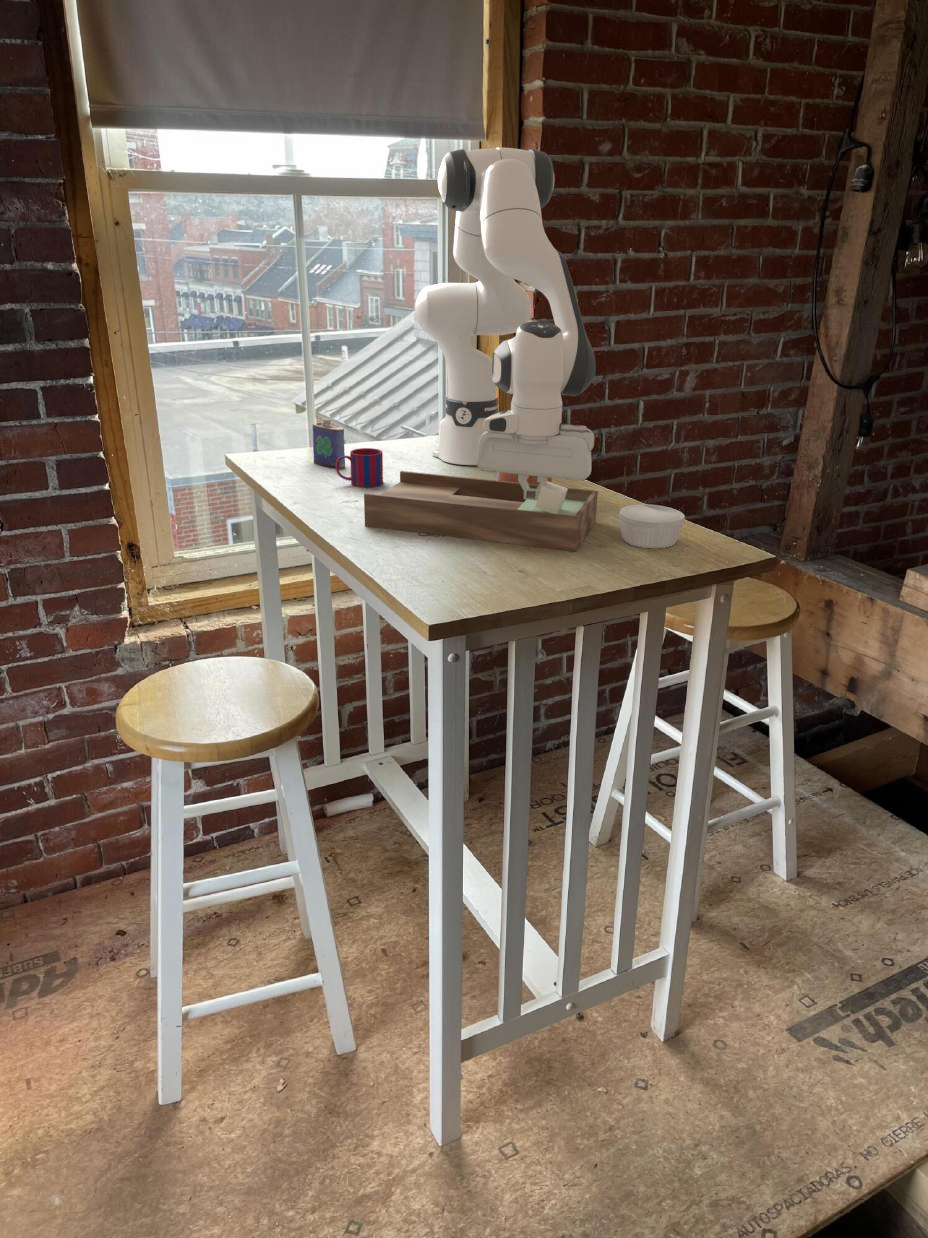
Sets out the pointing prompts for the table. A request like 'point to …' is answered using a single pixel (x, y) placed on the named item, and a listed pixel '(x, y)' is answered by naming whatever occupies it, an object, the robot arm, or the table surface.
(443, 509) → the box
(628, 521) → the ramekin
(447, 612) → the table surface
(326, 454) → the flask
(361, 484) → the mug
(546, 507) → the block
